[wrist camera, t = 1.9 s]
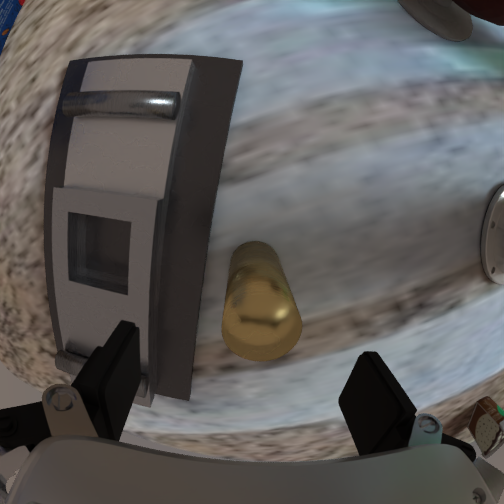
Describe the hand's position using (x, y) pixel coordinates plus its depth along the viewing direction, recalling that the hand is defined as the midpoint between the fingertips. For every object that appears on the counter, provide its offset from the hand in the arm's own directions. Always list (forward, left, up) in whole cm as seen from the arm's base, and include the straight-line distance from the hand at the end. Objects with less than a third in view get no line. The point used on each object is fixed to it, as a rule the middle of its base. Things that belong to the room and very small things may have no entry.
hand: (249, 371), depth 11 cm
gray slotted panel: (+11, 0, -13) cm, 17 cm away
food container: (-51, +22, -13) cm, 57 cm away
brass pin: (-1, 0, -13) cm, 13 cm away
